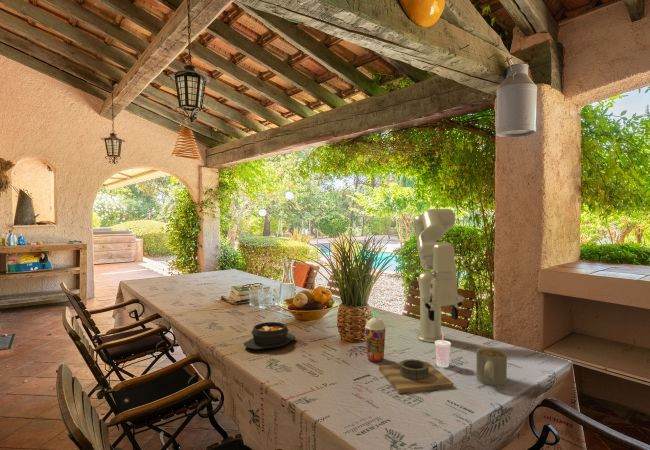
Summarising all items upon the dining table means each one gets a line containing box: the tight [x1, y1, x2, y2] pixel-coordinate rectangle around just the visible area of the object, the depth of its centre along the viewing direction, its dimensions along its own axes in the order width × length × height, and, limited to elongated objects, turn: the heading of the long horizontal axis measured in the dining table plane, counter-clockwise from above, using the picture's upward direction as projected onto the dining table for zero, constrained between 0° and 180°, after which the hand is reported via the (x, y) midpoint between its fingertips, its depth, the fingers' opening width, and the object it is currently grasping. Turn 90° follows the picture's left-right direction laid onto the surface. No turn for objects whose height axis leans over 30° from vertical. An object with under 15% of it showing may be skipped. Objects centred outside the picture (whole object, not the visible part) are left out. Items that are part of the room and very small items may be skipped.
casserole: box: [243, 321, 296, 350], centre depth 181 cm, size 25×19×8 cm
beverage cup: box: [434, 329, 452, 368], centre depth 155 cm, size 6×6×14 cm
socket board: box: [378, 358, 454, 394], centre depth 144 cm, size 20×20×5 cm
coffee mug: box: [475, 347, 508, 387], centre depth 141 cm, size 13×10×10 cm
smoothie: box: [364, 310, 387, 363], centre depth 161 cm, size 8×8×20 cm
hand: (443, 319), depth 155 cm, fingers open, 9 cm apart
